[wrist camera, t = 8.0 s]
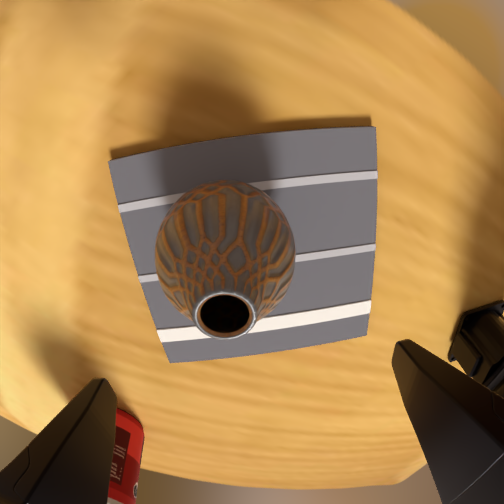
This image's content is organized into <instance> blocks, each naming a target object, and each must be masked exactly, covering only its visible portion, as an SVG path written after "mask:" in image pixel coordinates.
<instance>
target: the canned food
mask: <svg viewBox="0 0 504 504" xmlns="http://www.w3.org/2000/svg"><path fill="white" fill-rule="evenodd" d="M143 444H144V432H143V428H142V426H141V424H140V423H139V422H138V421H137V420H136V419H135V418H134V417H132V416H131V415H130V414H128V413H126V412H125V411H123V410H120V409H118V408H116V427H115V443H114V451H113V458H112V466H111V473H110V482H109V491H108V501H107V504H135V502H136V494H137V486H138V478H139V471H140V464H141V457H142V451H143Z"/></svg>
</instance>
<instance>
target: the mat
mask: <svg viewBox="0 0 504 504" xmlns="http://www.w3.org/2000/svg"><path fill="white" fill-rule="evenodd" d="M108 163H109V168H110V173H111V177H112V182H113V186H114V190H115V194H116V198H117V202H118V208H119V212H120V214H121V218H122V222H123V225H124V229H125V233H126V236H127V240H128V243H129V247H130V250H131V254H132V257H133V260H134V263H135V267H136V270H137V273H138V278H139V281H140V283H141V286H142V289H143V292H144V295H145V298H146V300H147V303H148V306H149V309H150V312H151V315H152V318H153V320H154V323H155V326H156V329H157V333H158V335H159V338H160V341H161V342H162V345H163V347H164V350H165V352H166V355H167V357H168V360H169V362H170V363H179V362H191V361H203V360H213V359H223V358H232V357H241V356H249V355H256V354H264V353H271V352H278V351H285V350H291V349H297V348H303V347H309V346H315V345H321V344H326V343H331V342H337V341H342V340H347V339H352V338H357V337H361V336H366V335H367V328H368V320H369V313H370V308H371V293H372V283H373V271H374V257H375V249H376V243H375V241H376V218H377V179H378V171H377V143H376V127H373V126H358V127H333V128H315V129H302V130H289V131H279V132H269V133H260V134H251V135H243V136H235V137H228V138H221V139H214V140H208V141H202V142H196V143H190V144H184V145H178V146H173V147H168V148H163V149H158V150H153V151H148V152H143V153H139V154H134V155H130V156H125V157H121V158H117V159H113V160H110V161H108ZM216 180H235V181H240V182H244V183H247V184H250V185H252V186H254V187H256V188H258V189H260V190H262V191H263V192H265V193H266V194H267V195H268V196H270V197H271V198H272V199H273V200H274V201H275V202H276V204H277V205H278V206H279V207H280V209H281V210H282V212H283V213H284V215H285V216H286V218H287V220H288V222H289V225H290V227H291V230H292V233H293V236H294V241H295V250H296V258H295V268H294V273H293V277H292V280H291V283H290V286H289V288H288V290H287V292H286V294H285V296H284V297H283V299H282V300H281V302H280V303H279V304H278V305H277V306H276V307H275V308H274V309H273V310H272V311H271V312H270V313H269V314H268V315H266V316H265V317H264V318H262V319H261V320H259V321H257V322H256V324H255V325H254V327H253V328H252V329H251V330H250V331H249V332H248V333H246V334H245V335H243V336H241V337H239V338H235V339H231V340H220V339H215V338H211V337H209V336H207V335H205V334H203V333H202V332H201V331H200V330H199V329H198V328H197V327H196V326H195V324H194V323H193V321H191V320H190V319H188V318H187V317H185V316H184V315H183V314H181V313H180V312H179V311H178V310H177V309H176V308H175V307H174V306H173V305H172V304H171V302H170V301H169V300H168V298H167V297H166V295H165V293H164V292H163V290H162V287H161V285H160V282H159V279H158V276H157V272H156V266H155V243H156V237H157V234H158V231H159V228H160V225H161V223H162V221H163V219H164V217H165V215H166V214H167V212H168V211H169V209H170V208H171V206H172V205H173V204H174V203H175V202H176V201H177V200H178V199H179V198H180V197H181V196H182V195H183V194H185V193H186V192H187V191H189V190H191V189H192V188H194V187H196V186H199V185H201V184H204V183H207V182H210V181H216Z"/></svg>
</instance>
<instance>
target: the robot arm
mask: <svg viewBox="0 0 504 504" xmlns="http://www.w3.org/2000/svg"><path fill="white" fill-rule="evenodd" d="M503 311H504V300H501V301H498V302H495V303H492V304H489V305H486V306H483V307H480V308H477V309H474V310H471V311H468V312H465V313H464V314H463V315H462V318H461V321H460V324H459V327H458V330H457V333H456V336H455V339H454V342H453V345H452V348H451V350H450V353H449V356H448V360H449V361H450V362H452V361H455V360H457V361H458V362H459V364H460V365H461V367H462V368H463V370H464V371H465V373H466V374H467V375H466V374H464V373H463V372H461V371H460V370H458V369H456V368H455V367H453V366H452V365H450V364H448V363H447V362H445V361H444V360H442V359H440V358H439V357H437V356H436V355H434V354H432V353H431V352H429V351H428V350H426V349H424V348H423V347H421V346H420V345H418V344H416V343H415V342H413V341H412V340H410V339H405V340H401V341H398V342H397V343H396V344H395V348H394V353H393V357H392V367H393V370H394V374H395V377H396V380H397V383H398V386H399V390H400V393H401V396H402V400H403V403H404V406H405V408H406V411H407V413H408V416H409V418H410V421H411V423H412V425H413V428H414V430H415V433H416V435H417V437H418V440H419V442H420V445H421V447H422V450H423V452H424V455H425V458H426V460H427V463H428V465H429V468H430V470H431V473H432V476H433V479H434V481H435V484H436V487H437V490H438V492H439V495H440V498H441V501H442V504H504V316H503V315H502V314H503ZM471 377H472V378H473V379H472V378H471ZM116 408H117V397H116V394H115V392H114V391H113V389H112V387H111V386H110V384H109V382H108V381H107V380H106V379H105V378H94V379H92V380H91V381H90V382H89V383H88V384H87V385H86V386H85V387H84V388H83V389H82V390H81V391H80V392H79V393H78V394H77V395H76V396H75V397H74V398H73V399H72V400H71V401H70V402H69V403H68V404H67V405H66V406H65V407H64V408H63V409H62V410H61V411H60V412H59V414H58V415H57V416H56V417H55V418H54V419H53V420H52V421H51V422H50V423H49V424H48V425H47V426H46V427H45V428H44V429H43V430H42V431H41V432H40V433H39V434H38V435H37V436H36V437H35V438H34V439H33V440H32V441H31V442H30V444H29V445H28V446H26V448H25V449H24V450H23V451H22V452H21V453H20V454H19V455H18V456H17V457H16V458H15V459H14V460H13V461H12V462H11V463H9V464H8V466H6V467H5V468H4V469H3V470H1V472H0V504H107V501H108V491H109V482H110V473H111V466H112V458H113V451H114V443H115V427H116Z"/></svg>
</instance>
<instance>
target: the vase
mask: <svg viewBox="0 0 504 504" xmlns="http://www.w3.org/2000/svg"><path fill="white" fill-rule="evenodd" d="M295 258H296V250H295V241H294V236H293V233H292V230H291V227H290V225H289V222H288V220H287V218H286V216H285V215H284V213H283V212H282V210H281V209H280V207H279V206H278V205H277V204H276V202H275V201H274V200H273V199H272V198H271V197H270V196H268V195H267V194H266V193H265V192H263V191H262V190H260V189H258V188H256V187H254V186H252V185H250V184H247V183H244V182H240V181H235V180H216V181H210V182H207V183H204V184H201V185H199V186H196V187H194V188H192V189H191V190H189V191H187V192H186V193H185V194H183V195H182V196H181V197H180V198H179V199H178V200H177V201H176V202H175V203H174V204H173V205H172V206H171V208H170V209H169V211H168V212H167V214H166V215H165V217H164V219H163V221H162V223H161V225H160V228H159V231H158V234H157V237H156V243H155V266H156V272H157V276H158V279H159V282H160V285H161V287H162V290H163V292H164V293H165V295H166V297H167V298H168V300H169V301H170V302H171V304H172V305H173V306H174V307H175V308H176V309H177V310H178V311H179V312H180V313H181V314H183V315H184V316H185V317H187V318H188V319H190V320H191V321H193V323H194V324H195V326H196V327H197V328H198V329H199V330H200V331H201V332H202V333H203V334H205V335H207V336H209V337H211V338H215V339H220V340H231V339H235V338H239V337H241V336H243V335H245V334H246V333H248V332H249V331H250V330H251V329H252V328H253V327H254V325H255V324H256V322H257V321H259V320H261V319H262V318H264V317H265V316H266V315H268V314H269V313H270V312H271V311H272V310H273V309H274V308H275V307H276V306H277V305H278V304H279V303H280V302H281V300H282V299H283V297H284V296H285V294H286V292H287V290H288V288H289V286H290V283H291V280H292V277H293V273H294V268H295Z"/></svg>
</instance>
